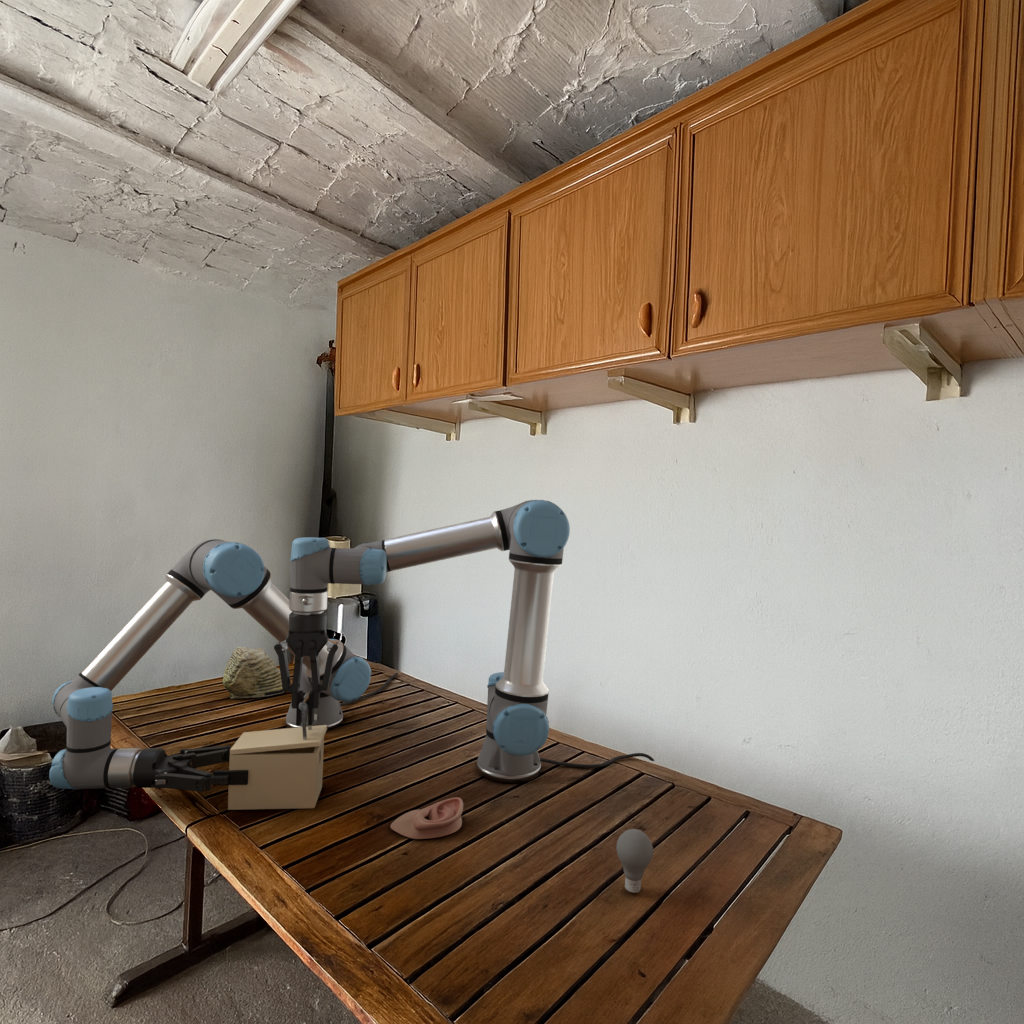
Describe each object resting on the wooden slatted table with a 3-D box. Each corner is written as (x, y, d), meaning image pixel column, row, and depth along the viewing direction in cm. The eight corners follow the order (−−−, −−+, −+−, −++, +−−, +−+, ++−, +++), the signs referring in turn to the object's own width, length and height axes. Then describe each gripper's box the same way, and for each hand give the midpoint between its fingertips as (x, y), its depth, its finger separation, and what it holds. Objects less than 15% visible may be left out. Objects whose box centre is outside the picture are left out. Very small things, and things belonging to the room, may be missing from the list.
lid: (327, 729, 138) (324, 689, 138) (319, 746, 129) (317, 703, 128) (243, 736, 136) (241, 696, 136) (229, 754, 126) (227, 711, 126)
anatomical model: (384, 813, 120) (406, 787, 131) (383, 834, 120) (405, 806, 131) (452, 824, 117) (468, 796, 128) (451, 845, 117) (467, 815, 128)
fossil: (218, 695, 195) (220, 647, 195) (278, 685, 208) (279, 640, 207) (228, 703, 189) (230, 653, 188) (289, 692, 201) (290, 645, 201)
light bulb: (610, 879, 108) (613, 822, 108) (644, 879, 109) (647, 822, 109) (619, 902, 102) (622, 840, 102) (655, 901, 103) (658, 840, 103)
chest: (322, 787, 138) (324, 736, 138) (314, 808, 129) (316, 754, 129) (241, 788, 136) (243, 737, 136) (227, 810, 127) (229, 755, 126)
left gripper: (161, 763, 140) (267, 762, 143) (112, 813, 118) (238, 810, 121) (162, 729, 140) (268, 729, 143) (113, 773, 118) (239, 771, 121)
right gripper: (267, 614, 128) (263, 730, 128) (342, 615, 130) (338, 729, 130) (275, 607, 135) (272, 717, 136) (346, 608, 137) (343, 716, 138)
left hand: (254, 766), depth 132 cm, fingers closed on chest, 9 cm apart
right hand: (305, 723), depth 133 cm, fingers closed on lid, 2 cm apart
